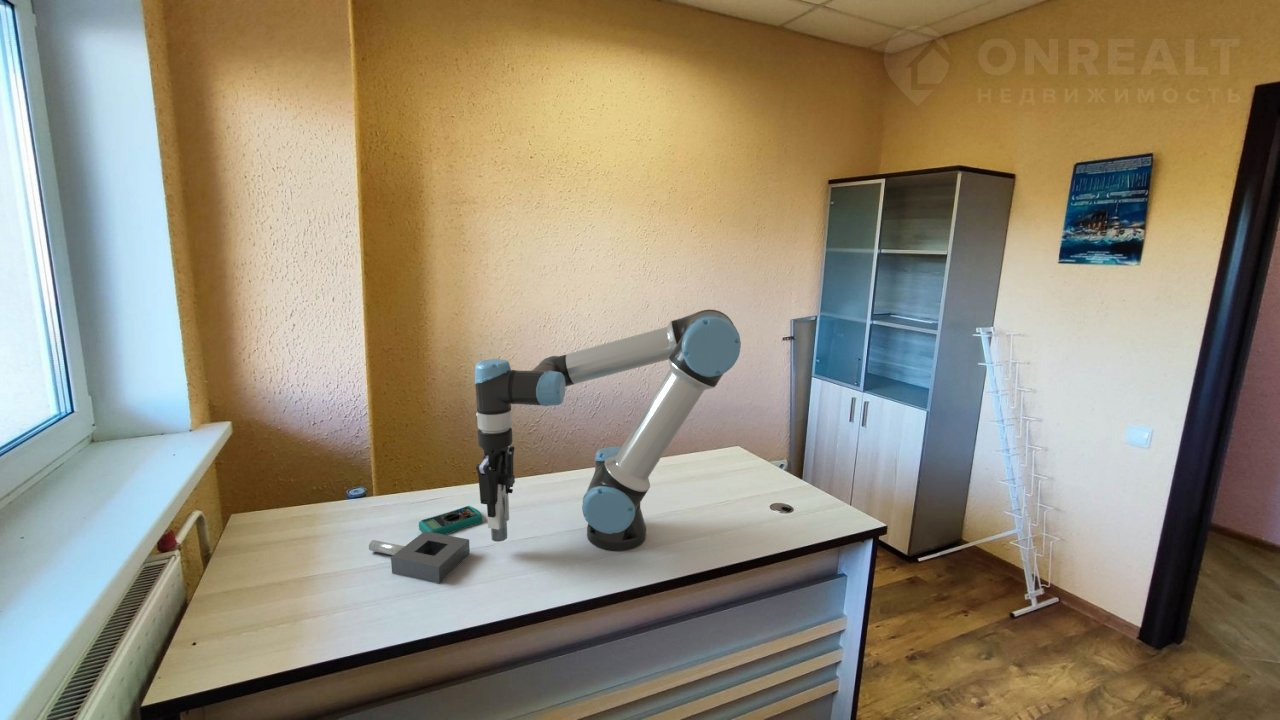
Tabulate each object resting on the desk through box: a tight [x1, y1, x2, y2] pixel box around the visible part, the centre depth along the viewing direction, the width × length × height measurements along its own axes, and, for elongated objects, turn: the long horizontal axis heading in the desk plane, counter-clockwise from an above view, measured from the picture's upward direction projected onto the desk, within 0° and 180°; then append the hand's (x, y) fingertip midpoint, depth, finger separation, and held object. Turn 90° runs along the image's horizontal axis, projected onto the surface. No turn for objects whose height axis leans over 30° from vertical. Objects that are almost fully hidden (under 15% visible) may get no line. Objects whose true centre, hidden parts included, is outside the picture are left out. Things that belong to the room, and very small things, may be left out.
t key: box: [490, 473, 516, 543], centre depth 132 cm, size 8×4×16 cm, turn 75°
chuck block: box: [368, 531, 471, 584], centre depth 131 cm, size 22×12×4 cm, turn 75°
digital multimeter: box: [418, 505, 483, 535], centre depth 148 cm, size 7×15×3 cm, turn 133°
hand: (498, 523), depth 133 cm, fingers closed on t key, 4 cm apart
